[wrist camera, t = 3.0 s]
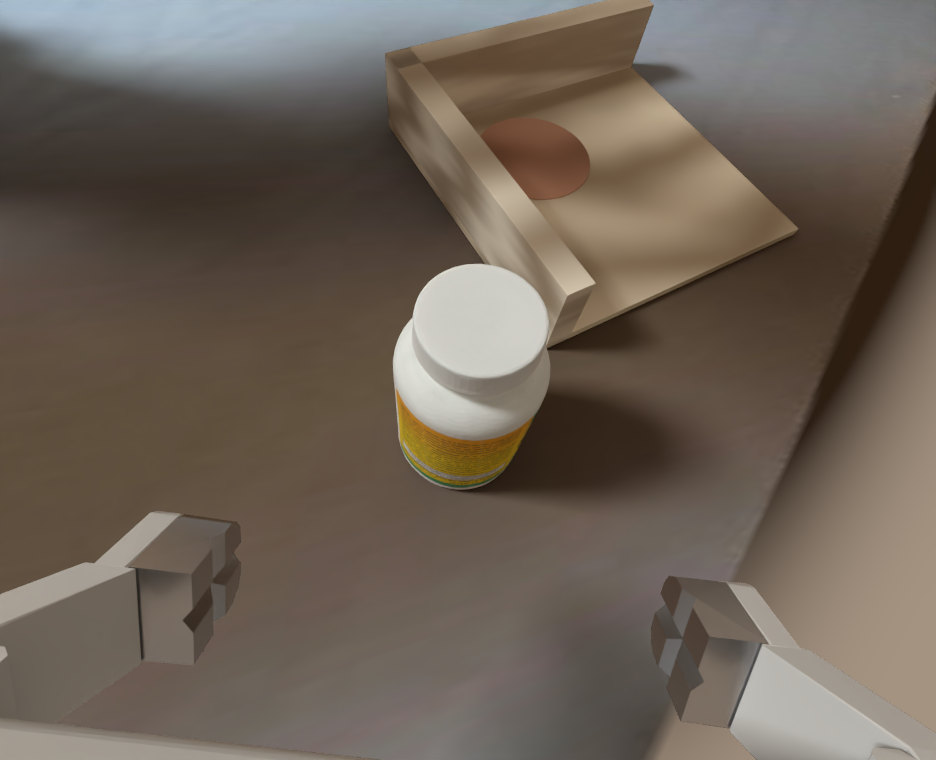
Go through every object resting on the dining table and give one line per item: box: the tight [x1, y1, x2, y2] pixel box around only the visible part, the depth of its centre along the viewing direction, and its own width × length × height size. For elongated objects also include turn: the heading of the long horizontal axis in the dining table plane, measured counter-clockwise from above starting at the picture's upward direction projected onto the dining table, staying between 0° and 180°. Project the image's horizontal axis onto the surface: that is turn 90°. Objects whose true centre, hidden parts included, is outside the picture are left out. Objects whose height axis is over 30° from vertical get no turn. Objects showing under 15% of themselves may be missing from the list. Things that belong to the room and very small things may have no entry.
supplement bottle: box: [393, 264, 550, 490], centre depth 19 cm, size 5×5×10 cm
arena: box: [385, 0, 799, 348], centre depth 30 cm, size 18×18×4 cm
